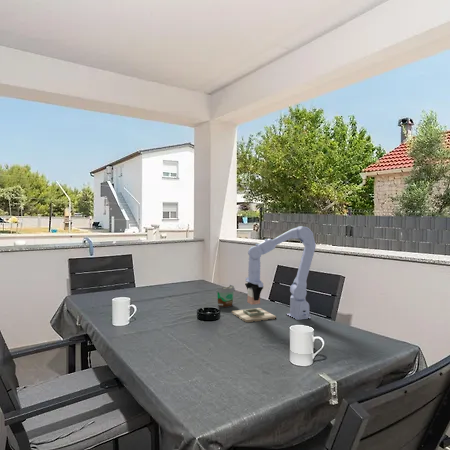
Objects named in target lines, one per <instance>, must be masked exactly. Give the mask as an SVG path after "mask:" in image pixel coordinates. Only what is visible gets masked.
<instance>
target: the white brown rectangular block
mask: <svg viewBox="0 0 450 450" xmlns="http://www.w3.org/2000/svg"><path fill="white" fill-rule="evenodd" d="M246 300H247V303H248V304H250V305H251V306H252V305H260V304H261V295H260V296H259V300H256V301H255V300H254V296H253V290H252V288H248V290H247V299H246Z"/></svg>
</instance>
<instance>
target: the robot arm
mask: <svg viewBox="0 0 450 450" xmlns="http://www.w3.org/2000/svg"><path fill="white" fill-rule="evenodd" d="M291 239H297V240H299V241H300V242H301V243H302V244H303V246H304V247H303V251H302V255H301V259H300V262H299V266H298V269H297V273H296V276H295V278H294V280H293V283H292V284H291V285H290V286H289V292H290V294H291V295H290V298H289V299H290V300H289V301H290V302H289V305H290V306H289V313H286V314H287V315H286V316H288V315H289V316H288V317H290V316H291V318H292V317H293V318H292V319H294V318H295V319H294V320H295V321H296V320H297V321H300V320H308V318H309V319H311V316H310V303H309V302H308V301H307V299H306V297H307V295H308V292H307V286H308V284H307V279H308V276H309V273H310V269H311V265H312V262H313V259H314V253H315V250H316V248H317V247H316V246H317V244H316V240H315V238H314V232H313V231H312V230H311V229H310V228H309V227H307V226H303V225H298V226H297V227H293V228H291V229H289V230H288V231H285V232H284V233H282V234H280V235H278V236H277V237H274V238H273V239H272V238H265V239H264V240H263V241H262V242H259V243H255V245H254V246H253V245H252V246H251V247H249V249H248V252H247V254H248V256H249V257H248V276H247V277H245V282H246V283H245V288H246V291H248V288H252V290H253V296H254V300H255V301H256V300H259V296H260V297H261V293H262V291H263V289H264V283H263V282H262V280H261V257H262V256H264V255H266V254H267V253H270V252H272V251H273V250H275V249H276V246H278V245H280V244H282V243H284V242H286V241H288V240H291Z"/></svg>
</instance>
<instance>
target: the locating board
mask: <svg viewBox="0 0 450 450" xmlns="http://www.w3.org/2000/svg"><path fill="white" fill-rule="evenodd" d="M232 313H233V314H232ZM231 314H232V315H233V316H235V315H236V318H238V317H239V319H240V320H241V319H242V320H241V321H243V322H244V321H245V322H244V323H246V322H247V323H254V322H253V321H255V322H262V321H261V320H263V321H269V320H268V319H272V320H276V319H277V315H275V314H272V313H270V312H269V311H267V310H266V309H265V310H264V309H263V308H261V307H257V308H246V309H239V310H231ZM275 318H276V319H275Z"/></svg>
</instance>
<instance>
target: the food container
mask: <svg viewBox="0 0 450 450" xmlns="http://www.w3.org/2000/svg"><path fill="white" fill-rule="evenodd" d="M235 291H236V289H235V286H234V285H231V284H229V286H227V287H226V286H223V287H222V288H218V287H217V288H216V294H217V295H216V297H217V307H218V306H219V308H229V307H228V306H230V307H232V306H233V303H234V302H233V300H234V292H235Z"/></svg>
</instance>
